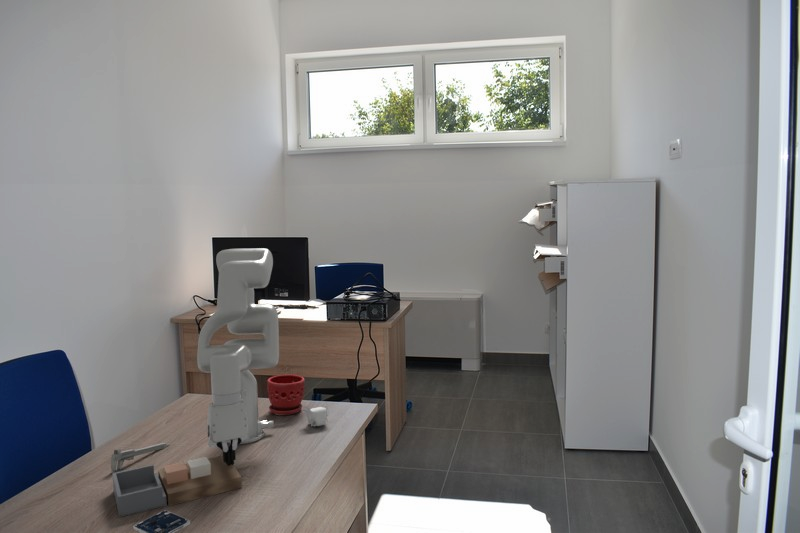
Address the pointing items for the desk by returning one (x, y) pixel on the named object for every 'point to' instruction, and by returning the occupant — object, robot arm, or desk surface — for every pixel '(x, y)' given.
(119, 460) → the caliper
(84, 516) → the desk surface
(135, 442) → the desk surface
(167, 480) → the tile terracotta
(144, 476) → the box
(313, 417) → the elephant figurine
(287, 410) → the plant pot
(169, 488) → the plate
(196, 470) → the tile cream
